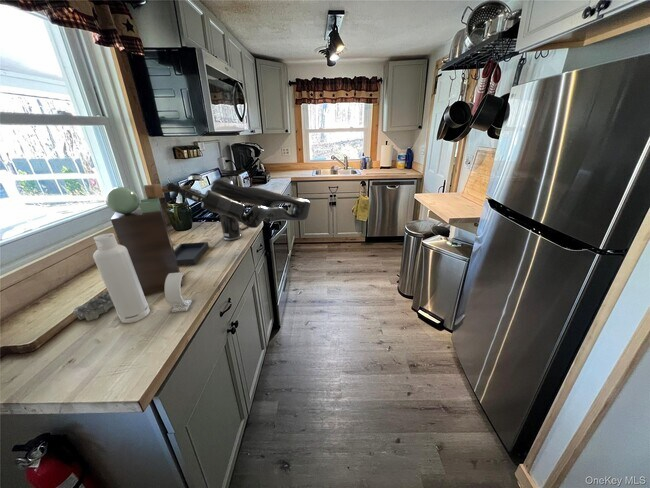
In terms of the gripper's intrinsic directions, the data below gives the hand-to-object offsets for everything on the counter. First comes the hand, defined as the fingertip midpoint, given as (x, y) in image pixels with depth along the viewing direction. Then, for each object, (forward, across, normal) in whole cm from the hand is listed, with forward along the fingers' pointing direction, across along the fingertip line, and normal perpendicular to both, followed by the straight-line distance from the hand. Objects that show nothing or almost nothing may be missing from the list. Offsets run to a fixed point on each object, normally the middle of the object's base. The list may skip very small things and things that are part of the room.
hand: (167, 185), depth 92 cm
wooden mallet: (-2, 0, -3) cm, 4 cm away
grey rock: (+7, -7, -48) cm, 49 cm away
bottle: (-3, -16, -42) cm, 45 cm away
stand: (-9, 0, -38) cm, 39 cm away
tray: (-19, +23, -33) cm, 44 cm away
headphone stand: (-15, -21, -35) cm, 43 cm away
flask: (+6, 0, -12) cm, 14 cm away
